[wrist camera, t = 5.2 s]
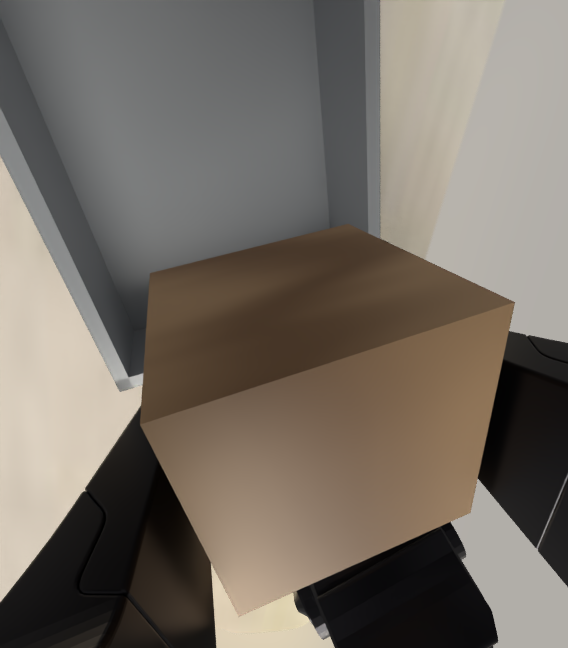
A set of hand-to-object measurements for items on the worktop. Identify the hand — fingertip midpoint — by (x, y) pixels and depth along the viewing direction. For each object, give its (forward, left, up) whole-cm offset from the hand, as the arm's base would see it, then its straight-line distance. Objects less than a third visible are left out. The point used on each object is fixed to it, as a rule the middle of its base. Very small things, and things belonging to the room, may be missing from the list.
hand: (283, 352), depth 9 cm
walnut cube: (0, 0, -1) cm, 1 cm away
